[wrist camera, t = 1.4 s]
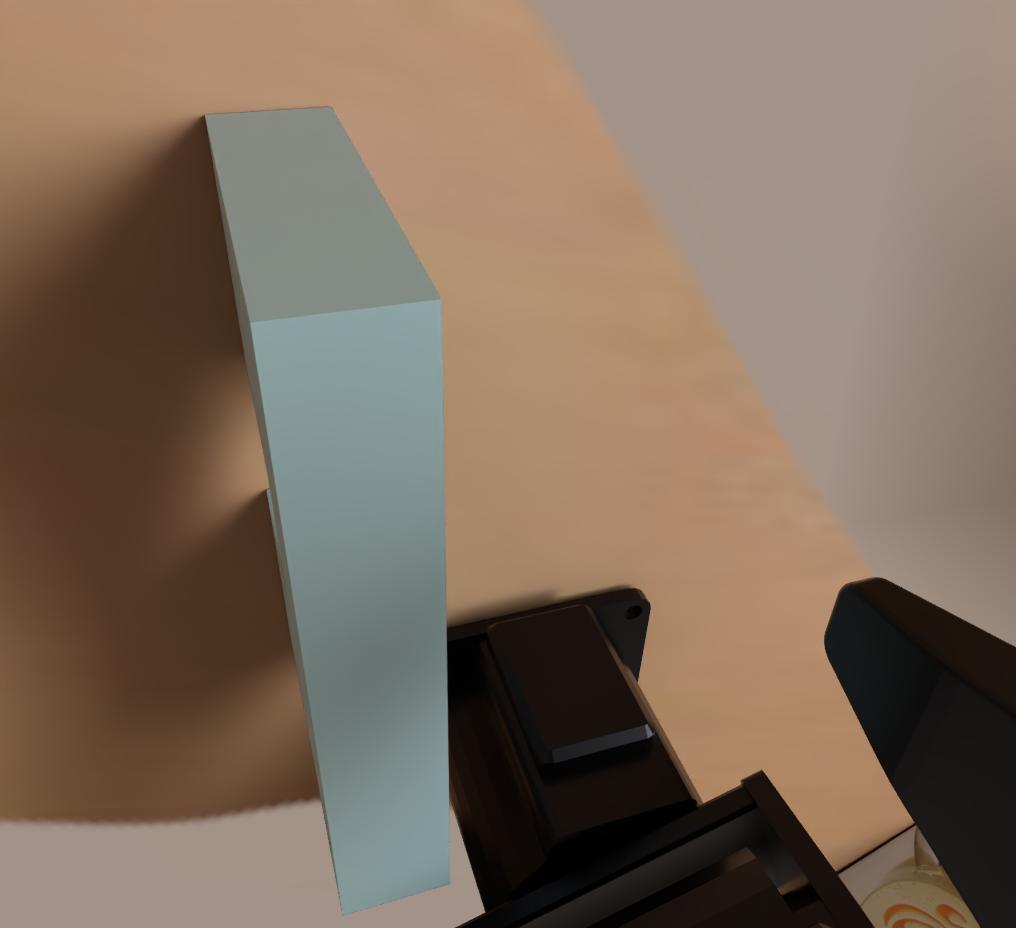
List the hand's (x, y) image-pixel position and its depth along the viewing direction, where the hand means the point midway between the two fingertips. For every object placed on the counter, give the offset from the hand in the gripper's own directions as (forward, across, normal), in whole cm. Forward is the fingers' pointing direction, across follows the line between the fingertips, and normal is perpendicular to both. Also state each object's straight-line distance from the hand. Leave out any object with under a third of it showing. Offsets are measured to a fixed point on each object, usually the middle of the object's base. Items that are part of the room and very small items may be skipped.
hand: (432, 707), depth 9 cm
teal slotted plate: (+10, 0, +3) cm, 11 cm away
